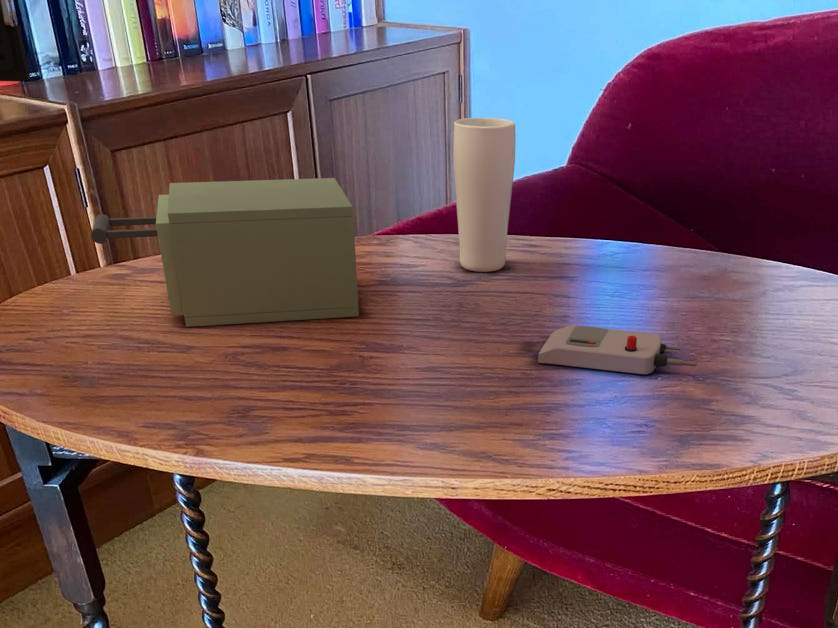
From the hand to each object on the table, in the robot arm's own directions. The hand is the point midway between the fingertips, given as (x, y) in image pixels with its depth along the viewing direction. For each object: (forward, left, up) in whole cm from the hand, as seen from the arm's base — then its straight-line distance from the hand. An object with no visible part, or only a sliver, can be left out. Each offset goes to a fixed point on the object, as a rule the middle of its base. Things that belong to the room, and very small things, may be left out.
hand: (9, 79), depth 84 cm
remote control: (+49, -23, -20) cm, 58 cm away
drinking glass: (+45, +9, -20) cm, 50 cm away
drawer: (+15, 0, -19) cm, 25 cm away
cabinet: (+20, 0, -20) cm, 29 cm away
